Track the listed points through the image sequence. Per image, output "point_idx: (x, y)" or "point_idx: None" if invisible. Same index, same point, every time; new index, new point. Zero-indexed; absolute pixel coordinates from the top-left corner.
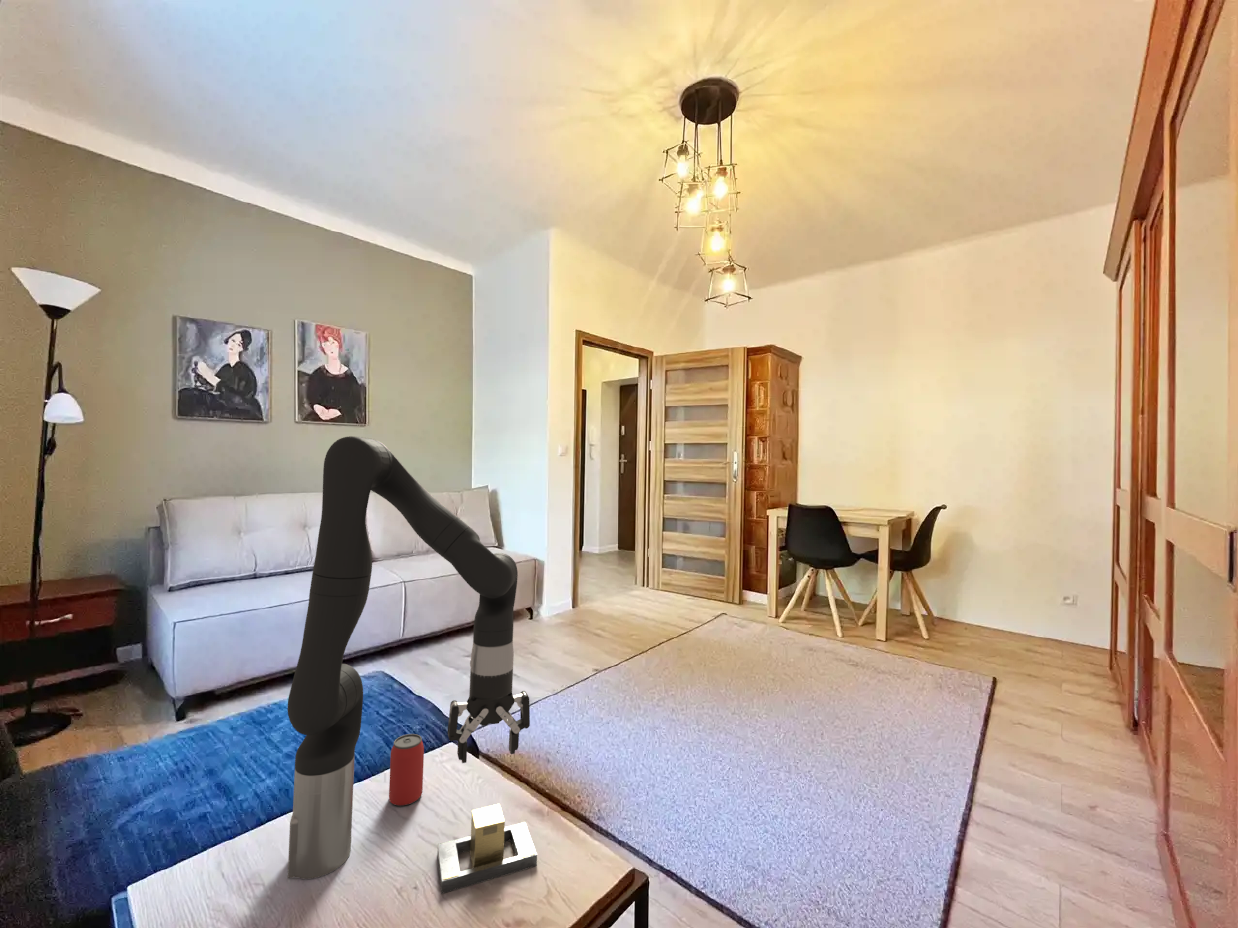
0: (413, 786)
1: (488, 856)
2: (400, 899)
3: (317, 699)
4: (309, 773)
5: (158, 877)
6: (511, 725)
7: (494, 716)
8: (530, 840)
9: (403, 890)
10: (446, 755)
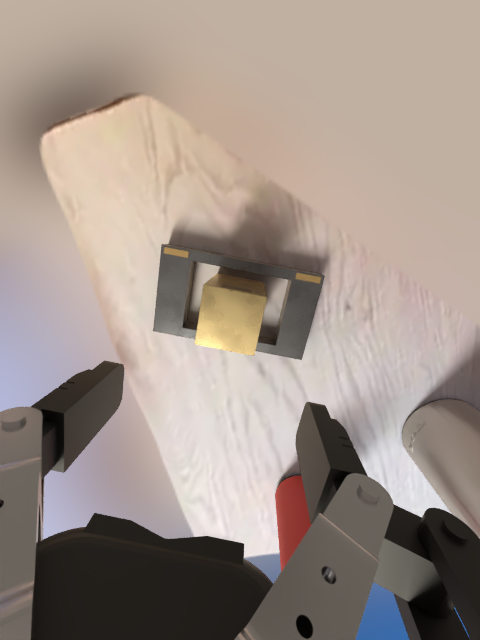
0: (299, 498)
1: (240, 281)
2: (374, 296)
3: None
4: None
5: None
6: (18, 457)
7: (102, 607)
8: (160, 282)
9: (364, 311)
10: None
